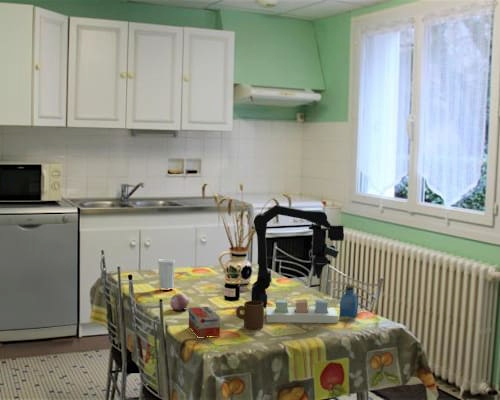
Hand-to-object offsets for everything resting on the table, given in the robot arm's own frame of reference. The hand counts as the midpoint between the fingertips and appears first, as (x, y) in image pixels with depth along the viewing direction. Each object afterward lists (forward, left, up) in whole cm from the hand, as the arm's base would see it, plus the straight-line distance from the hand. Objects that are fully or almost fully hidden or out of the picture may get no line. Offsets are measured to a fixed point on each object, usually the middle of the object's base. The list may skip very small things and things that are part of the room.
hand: (317, 276), depth 282 cm
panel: (-8, -18, -14) cm, 24 cm away
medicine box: (-46, -38, -14) cm, 61 cm away
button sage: (-16, -18, -11) cm, 26 cm away
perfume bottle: (+12, -12, -14) cm, 22 cm away
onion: (-58, -8, -14) cm, 60 cm away
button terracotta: (-8, -18, -11) cm, 22 cm away
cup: (-68, +27, -14) cm, 74 cm away
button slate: (0, -18, -11) cm, 21 cm away
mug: (-29, -32, -14) cm, 45 cm away
